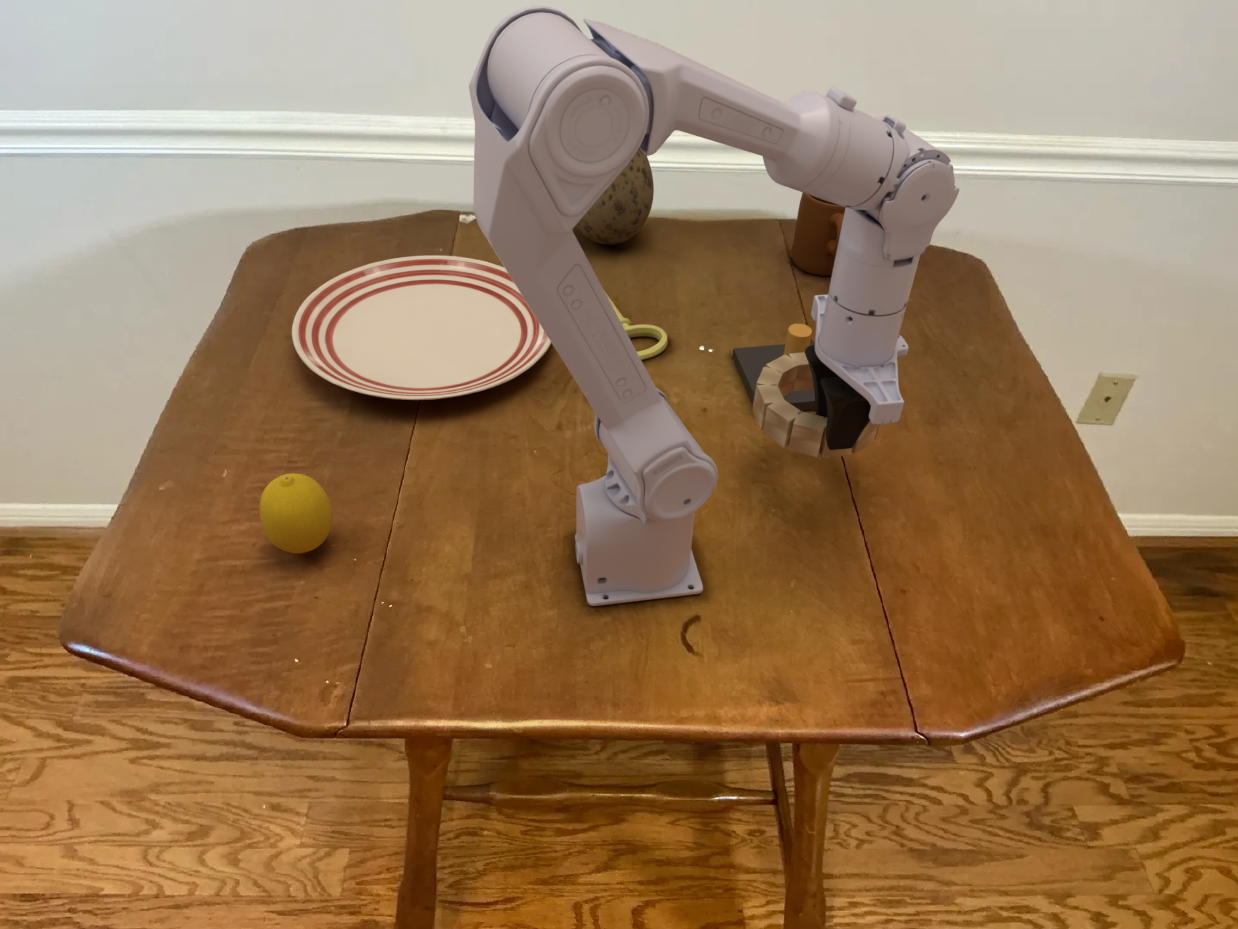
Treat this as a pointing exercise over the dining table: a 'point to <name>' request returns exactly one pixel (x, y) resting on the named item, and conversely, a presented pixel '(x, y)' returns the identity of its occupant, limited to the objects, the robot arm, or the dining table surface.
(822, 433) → the ring
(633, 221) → the decorative egg
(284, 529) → the lemon
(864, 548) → the dining table surface
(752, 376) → the peg stand
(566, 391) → the dining table surface
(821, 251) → the mug
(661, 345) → the key
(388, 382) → the dinner plate
